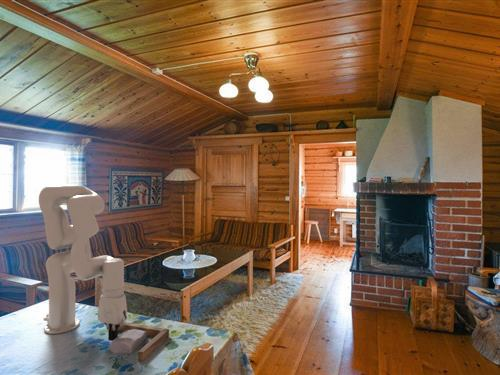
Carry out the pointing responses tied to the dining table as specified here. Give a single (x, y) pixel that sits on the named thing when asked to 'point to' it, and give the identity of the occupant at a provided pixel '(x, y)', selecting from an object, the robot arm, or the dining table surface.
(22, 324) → the dining table surface
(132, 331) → the stone block
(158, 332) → the wooden corner frame
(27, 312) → the dining table surface
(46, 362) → the dining table surface
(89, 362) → the dining table surface
